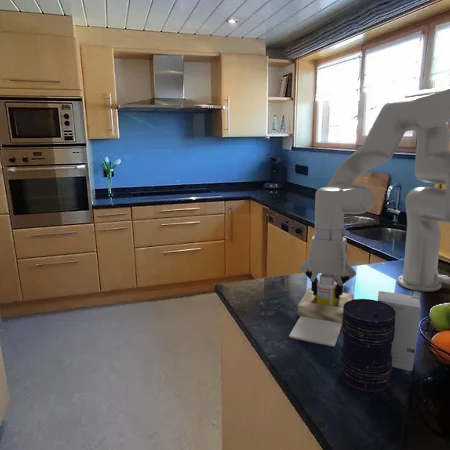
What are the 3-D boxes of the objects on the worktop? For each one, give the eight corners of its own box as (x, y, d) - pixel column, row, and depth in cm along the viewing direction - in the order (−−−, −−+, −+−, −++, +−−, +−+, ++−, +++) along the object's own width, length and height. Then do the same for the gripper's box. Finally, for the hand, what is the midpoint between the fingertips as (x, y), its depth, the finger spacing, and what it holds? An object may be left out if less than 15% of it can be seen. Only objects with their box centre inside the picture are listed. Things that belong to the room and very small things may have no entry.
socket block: (353, 303, 108) (353, 294, 108) (346, 324, 97) (347, 313, 96) (308, 296, 114) (309, 287, 113) (297, 315, 103) (297, 305, 102)
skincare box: (371, 363, 80) (375, 300, 77) (373, 349, 86) (377, 289, 82) (414, 372, 77) (421, 306, 73) (413, 356, 82) (419, 294, 79)
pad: (342, 325, 97) (342, 323, 97) (334, 346, 87) (334, 344, 87) (300, 317, 101) (300, 316, 101) (289, 337, 92) (289, 335, 92)
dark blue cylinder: (332, 363, 81) (335, 300, 78) (376, 360, 82) (381, 297, 78) (351, 393, 71) (354, 323, 68) (400, 390, 72) (406, 319, 68)
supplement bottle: (331, 304, 109) (333, 271, 106) (339, 313, 103) (341, 278, 101) (313, 305, 108) (314, 272, 106) (320, 314, 103) (321, 280, 100)
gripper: (363, 232, 100) (360, 294, 104) (300, 227, 107) (300, 286, 112) (360, 239, 93) (357, 305, 98) (293, 234, 101) (293, 295, 105)
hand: (326, 294), depth 105 cm, fingers closed on supplement bottle, 5 cm apart
